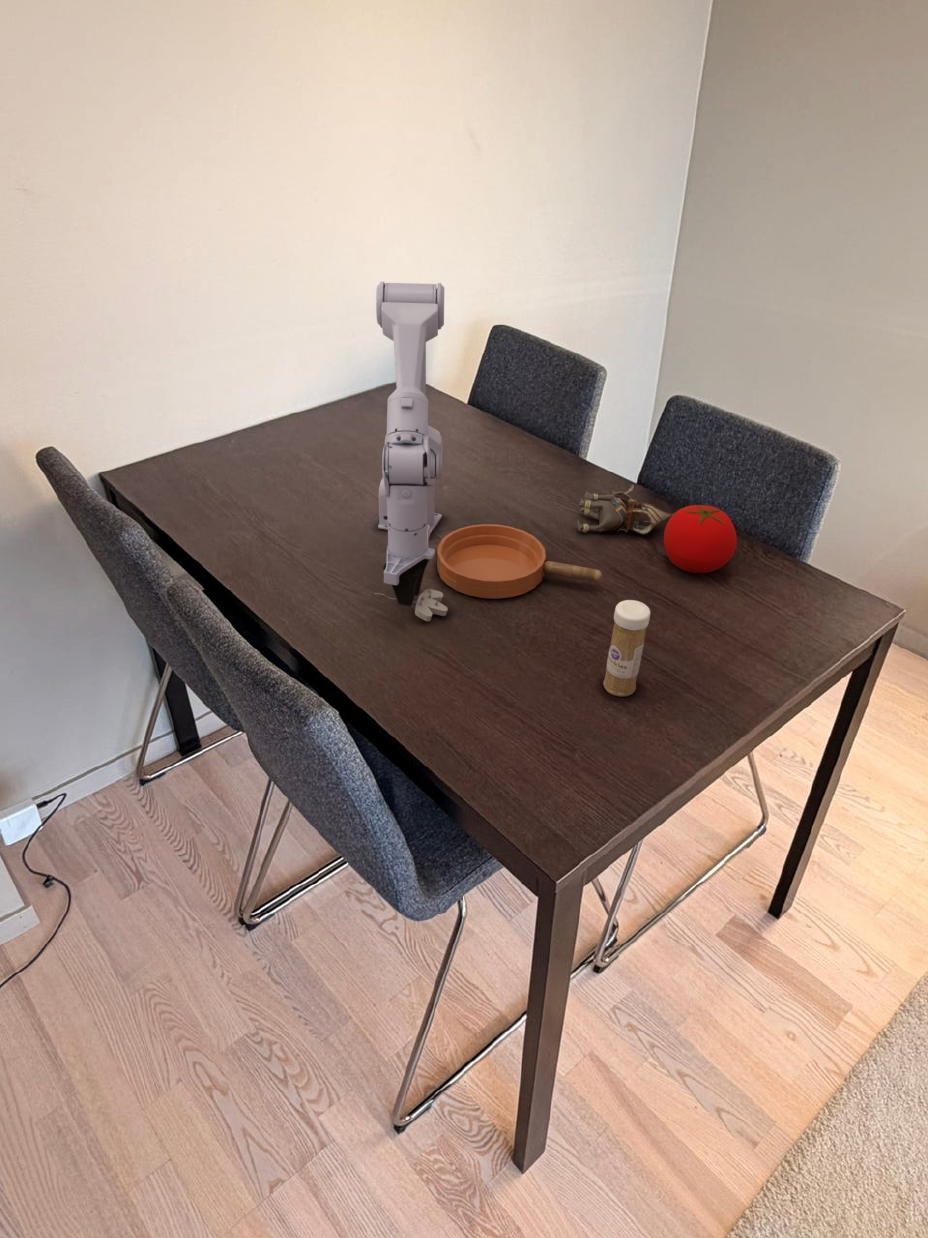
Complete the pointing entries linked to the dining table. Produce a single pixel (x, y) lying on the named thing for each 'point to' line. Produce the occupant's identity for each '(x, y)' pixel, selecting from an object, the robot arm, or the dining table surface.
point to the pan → (491, 561)
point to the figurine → (619, 512)
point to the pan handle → (572, 571)
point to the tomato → (699, 539)
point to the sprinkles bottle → (626, 647)
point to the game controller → (429, 604)
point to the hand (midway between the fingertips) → (408, 599)
